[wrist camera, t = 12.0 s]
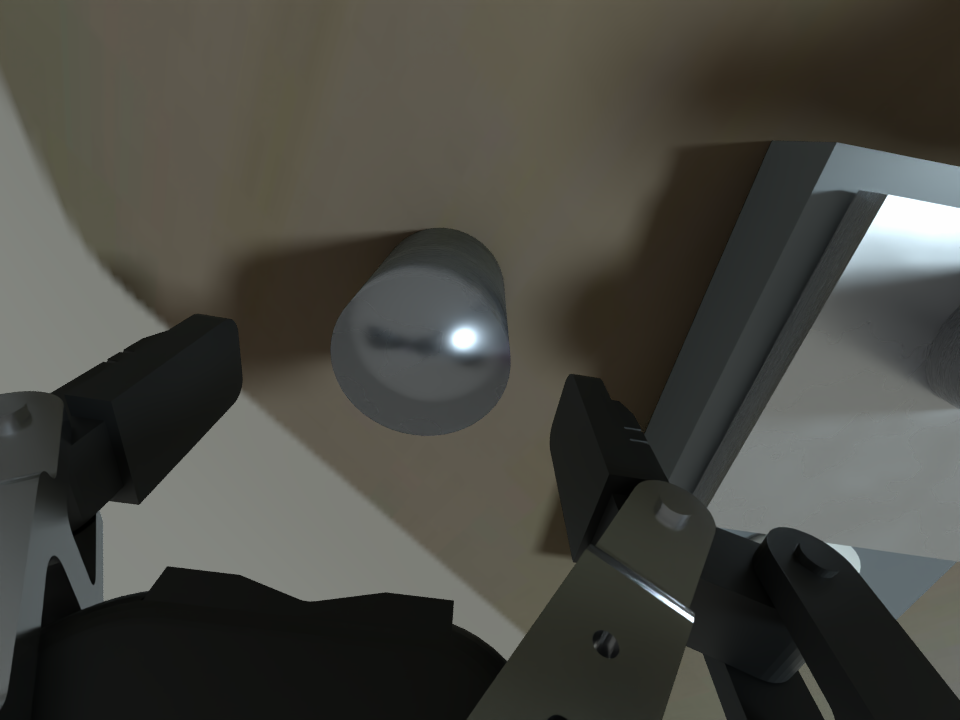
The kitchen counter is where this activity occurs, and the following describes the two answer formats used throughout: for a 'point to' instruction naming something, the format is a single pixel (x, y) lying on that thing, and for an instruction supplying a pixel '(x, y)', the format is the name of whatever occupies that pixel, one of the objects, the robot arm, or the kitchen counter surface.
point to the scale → (783, 316)
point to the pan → (855, 396)
